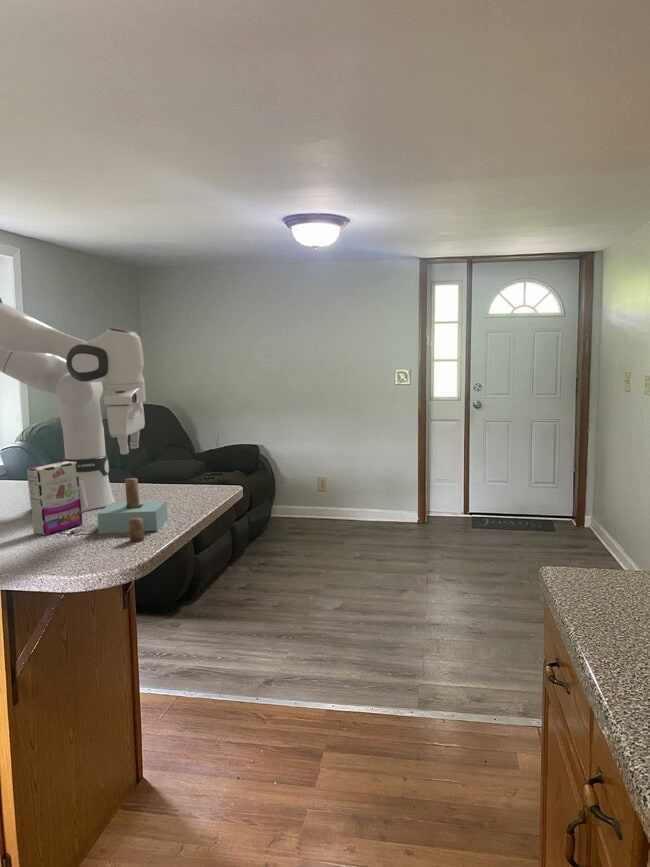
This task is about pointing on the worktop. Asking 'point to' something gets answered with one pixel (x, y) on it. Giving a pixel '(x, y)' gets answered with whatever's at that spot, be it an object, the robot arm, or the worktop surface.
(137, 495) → the long dowel
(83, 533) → the worktop surface
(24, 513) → the worktop surface
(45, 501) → the candy bar box
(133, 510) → the hole block
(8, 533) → the worktop surface
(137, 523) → the short dowel
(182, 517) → the worktop surface
